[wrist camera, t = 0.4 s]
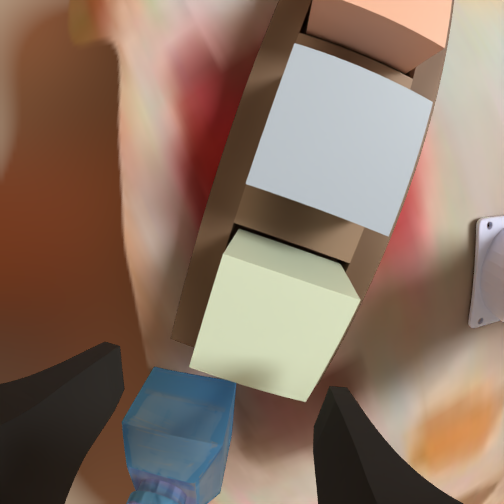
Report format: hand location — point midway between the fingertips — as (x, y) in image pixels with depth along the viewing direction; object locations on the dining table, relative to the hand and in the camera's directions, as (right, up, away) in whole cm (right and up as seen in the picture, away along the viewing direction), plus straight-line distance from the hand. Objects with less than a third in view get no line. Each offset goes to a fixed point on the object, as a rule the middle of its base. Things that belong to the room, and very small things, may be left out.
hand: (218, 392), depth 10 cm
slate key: (+5, +10, +4) cm, 12 cm away
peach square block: (+7, +17, +2) cm, 19 cm away
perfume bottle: (-3, -7, +13) cm, 15 cm away
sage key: (+2, +2, +7) cm, 7 cm away
